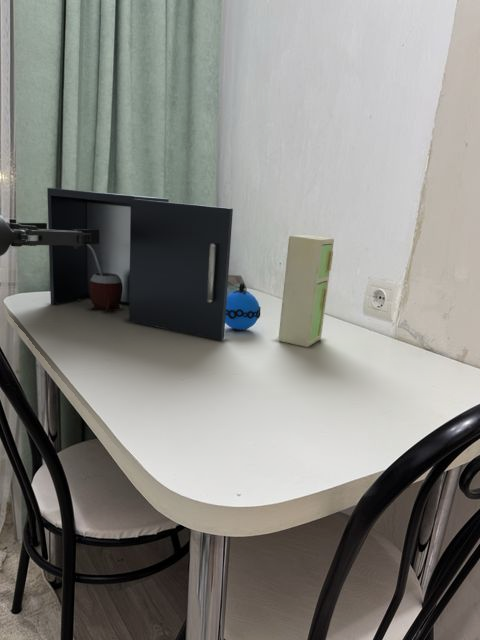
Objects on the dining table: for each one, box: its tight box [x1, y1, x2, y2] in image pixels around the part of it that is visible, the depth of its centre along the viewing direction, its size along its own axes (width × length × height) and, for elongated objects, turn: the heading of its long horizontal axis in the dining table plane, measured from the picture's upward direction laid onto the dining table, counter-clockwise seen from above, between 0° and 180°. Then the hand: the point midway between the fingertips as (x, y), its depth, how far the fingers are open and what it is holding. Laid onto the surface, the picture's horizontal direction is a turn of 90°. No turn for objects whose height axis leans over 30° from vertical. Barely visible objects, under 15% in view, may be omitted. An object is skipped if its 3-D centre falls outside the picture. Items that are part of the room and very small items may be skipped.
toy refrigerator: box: [278, 234, 335, 348], centre depth 101 cm, size 8×7×21 cm
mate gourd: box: [86, 244, 123, 313], centre depth 113 cm, size 8×8×15 cm
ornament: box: [225, 283, 261, 331], centre depth 107 cm, size 9×9×10 cm
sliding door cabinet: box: [46, 187, 234, 341], centre depth 108 cm, size 45×15×26 cm, turn 66°
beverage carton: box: [227, 274, 248, 295], centre depth 134 cm, size 8×19×7 cm, turn 6°
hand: (71, 233), depth 102 cm, fingers open, 13 cm apart
